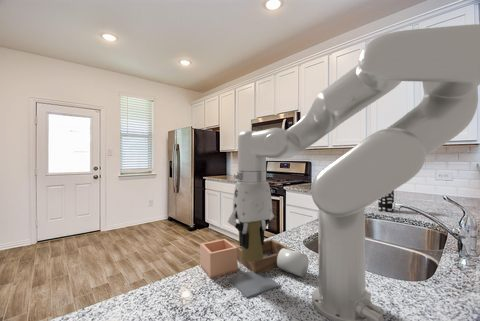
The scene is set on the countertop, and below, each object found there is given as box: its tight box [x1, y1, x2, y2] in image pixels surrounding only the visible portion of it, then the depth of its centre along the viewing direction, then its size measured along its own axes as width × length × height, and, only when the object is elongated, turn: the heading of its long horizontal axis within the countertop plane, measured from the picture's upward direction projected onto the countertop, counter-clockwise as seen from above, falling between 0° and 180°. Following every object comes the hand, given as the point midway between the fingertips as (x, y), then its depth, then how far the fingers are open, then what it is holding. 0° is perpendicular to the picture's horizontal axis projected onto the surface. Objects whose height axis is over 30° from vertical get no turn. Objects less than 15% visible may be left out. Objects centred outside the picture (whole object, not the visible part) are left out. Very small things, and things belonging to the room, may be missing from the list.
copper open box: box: [199, 238, 239, 280], centre depth 68 cm, size 9×9×7 cm
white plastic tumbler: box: [277, 248, 309, 278], centre depth 66 cm, size 7×6×6 cm
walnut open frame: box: [236, 239, 295, 273], centre depth 73 cm, size 12×15×4 cm
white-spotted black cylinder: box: [377, 190, 395, 213], centre depth 141 cm, size 8×8×20 cm
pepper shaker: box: [241, 221, 264, 262], centre depth 60 cm, size 6×6×11 cm
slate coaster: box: [228, 270, 281, 299], centre depth 60 cm, size 10×10×1 cm
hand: (252, 244), depth 60 cm, fingers closed on pepper shaker, 4 cm apart
